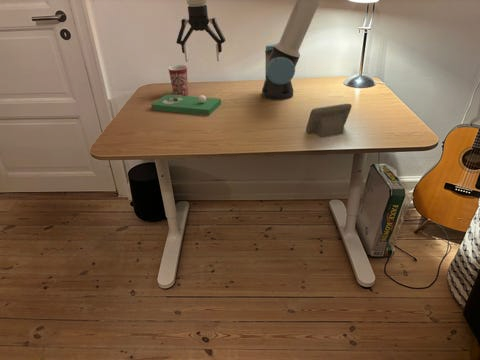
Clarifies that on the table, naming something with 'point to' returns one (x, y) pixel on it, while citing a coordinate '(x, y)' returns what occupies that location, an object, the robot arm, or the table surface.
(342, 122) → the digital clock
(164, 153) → the table surface
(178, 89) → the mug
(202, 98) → the ball
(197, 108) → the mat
